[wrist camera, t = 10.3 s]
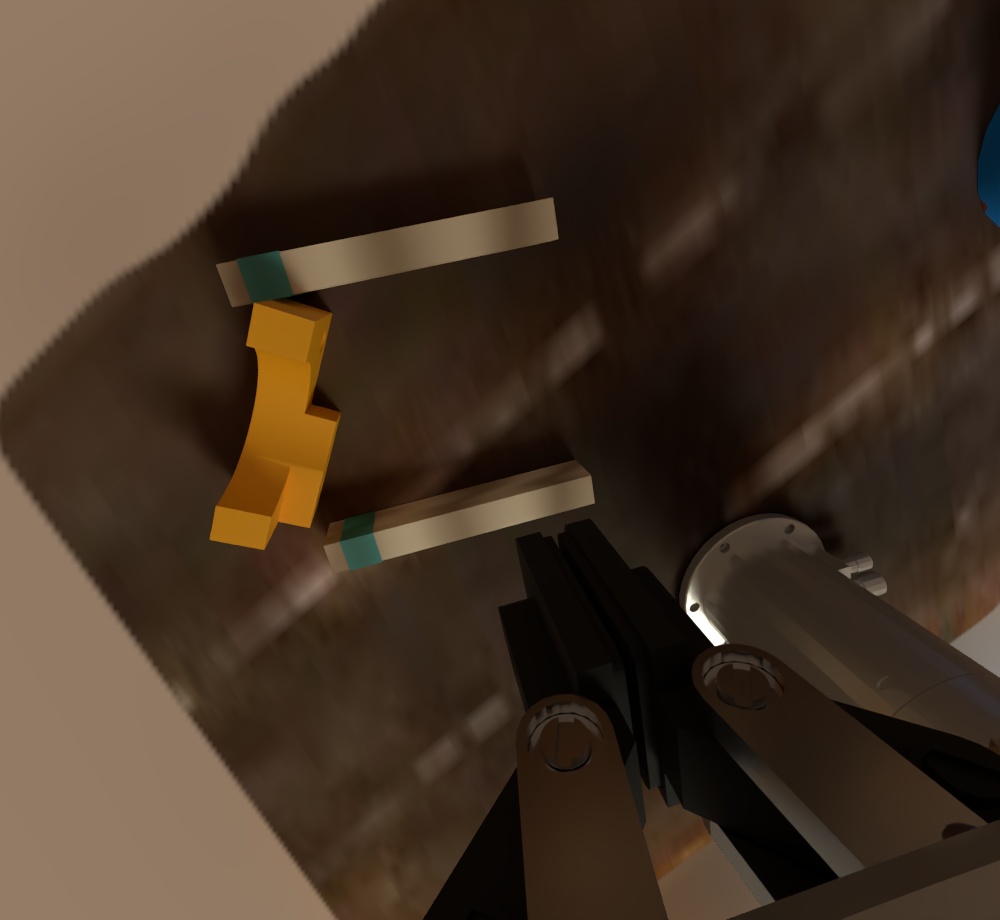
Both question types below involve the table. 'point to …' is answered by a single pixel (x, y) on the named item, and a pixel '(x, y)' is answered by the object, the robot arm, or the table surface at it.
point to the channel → (389, 255)
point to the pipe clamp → (280, 428)
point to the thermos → (990, 170)
